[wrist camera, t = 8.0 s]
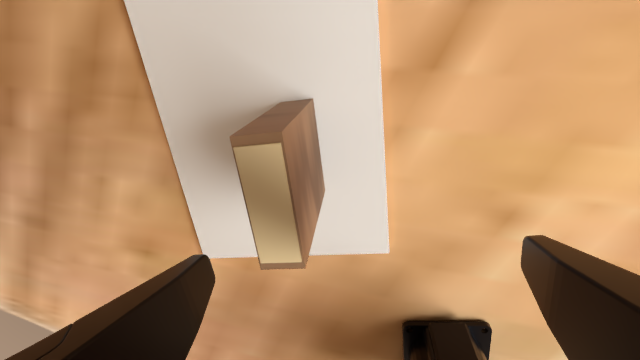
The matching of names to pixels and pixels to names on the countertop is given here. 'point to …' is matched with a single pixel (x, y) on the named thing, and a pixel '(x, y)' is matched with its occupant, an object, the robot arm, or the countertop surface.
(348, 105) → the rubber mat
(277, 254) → the walnut slab
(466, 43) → the countertop surface
